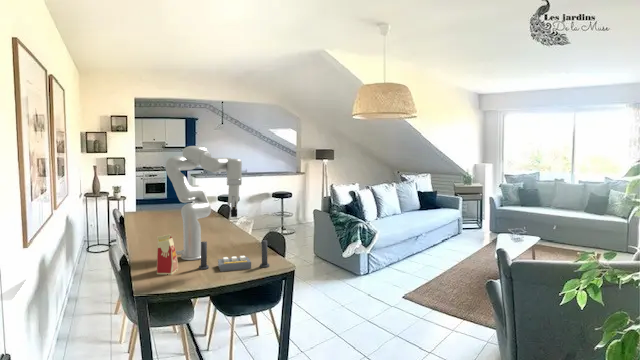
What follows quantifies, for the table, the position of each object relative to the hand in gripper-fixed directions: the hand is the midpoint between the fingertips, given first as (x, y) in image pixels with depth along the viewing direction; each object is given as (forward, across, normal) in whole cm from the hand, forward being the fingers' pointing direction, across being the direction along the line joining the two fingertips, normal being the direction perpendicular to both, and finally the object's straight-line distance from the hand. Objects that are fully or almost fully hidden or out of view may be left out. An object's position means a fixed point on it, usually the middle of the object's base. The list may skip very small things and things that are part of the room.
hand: (234, 216), depth 211 cm
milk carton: (+28, +4, -34) cm, 44 cm away
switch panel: (+28, 0, 0) cm, 28 cm away
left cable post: (+28, 0, -16) cm, 32 cm away
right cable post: (+27, 0, +16) cm, 32 cm away
